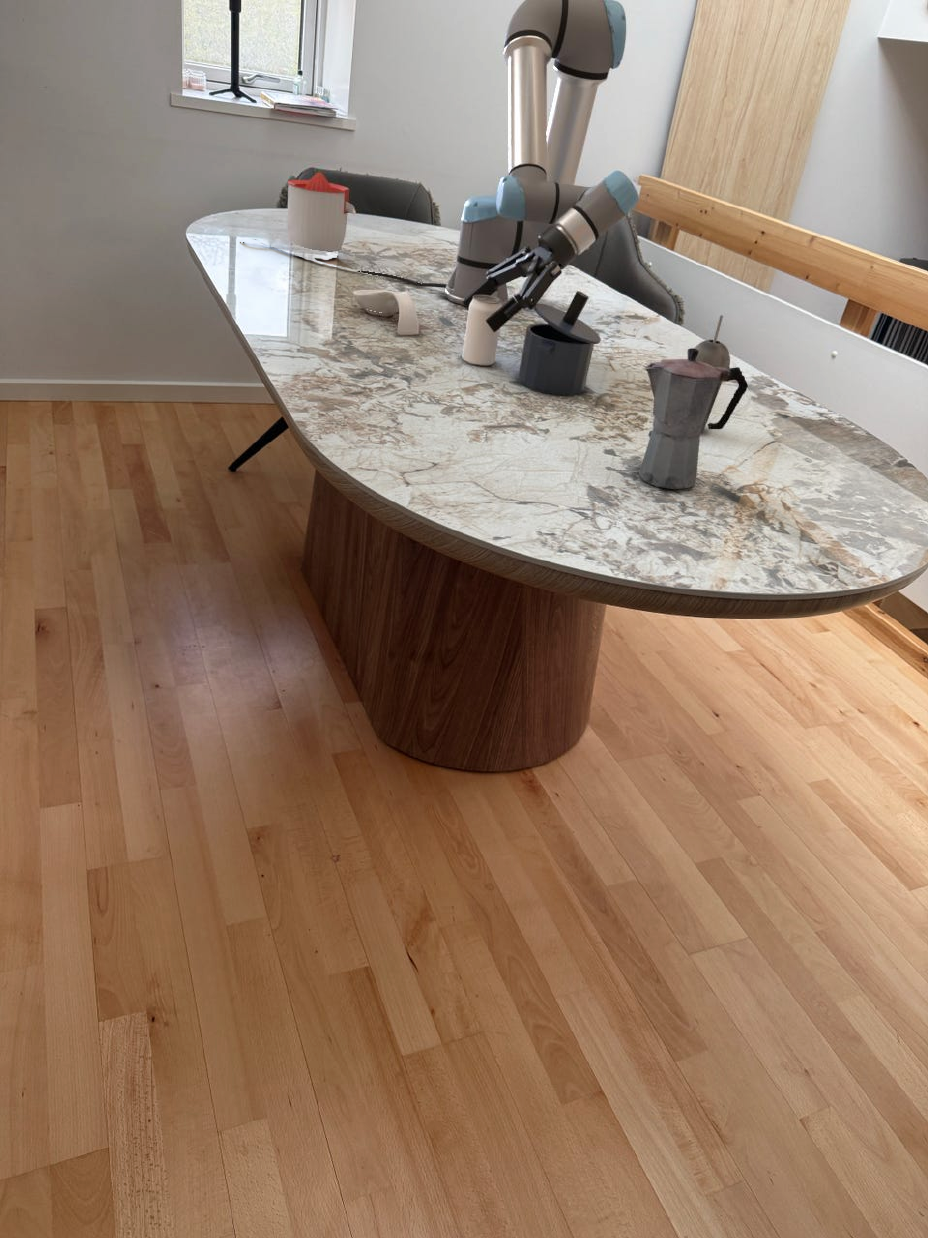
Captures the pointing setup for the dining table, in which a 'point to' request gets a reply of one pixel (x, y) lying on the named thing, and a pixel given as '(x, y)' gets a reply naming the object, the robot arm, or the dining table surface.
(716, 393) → the beverage cup
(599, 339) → the pot lid
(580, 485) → the dining table surface
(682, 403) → the moka pot
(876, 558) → the dining table surface
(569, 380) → the pot
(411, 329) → the beige curved piece
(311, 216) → the citrus juicer
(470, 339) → the can
